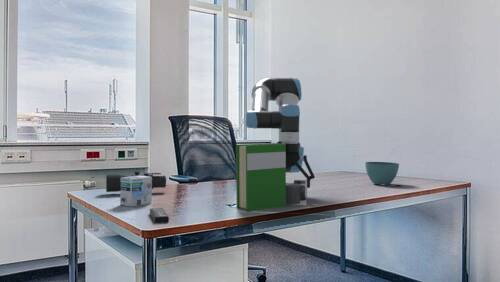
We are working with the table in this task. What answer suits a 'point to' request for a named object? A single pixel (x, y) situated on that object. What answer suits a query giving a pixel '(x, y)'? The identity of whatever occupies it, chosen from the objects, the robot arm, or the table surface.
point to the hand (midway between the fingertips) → (289, 195)
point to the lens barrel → (301, 189)
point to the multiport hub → (159, 215)
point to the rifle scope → (115, 180)
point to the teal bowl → (381, 172)
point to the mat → (300, 203)
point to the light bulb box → (136, 190)
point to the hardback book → (260, 176)
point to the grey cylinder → (292, 193)
